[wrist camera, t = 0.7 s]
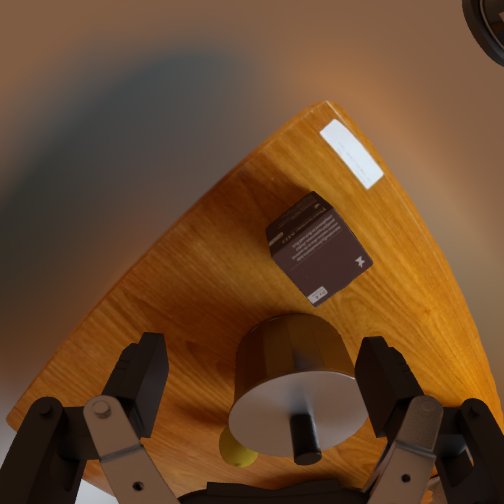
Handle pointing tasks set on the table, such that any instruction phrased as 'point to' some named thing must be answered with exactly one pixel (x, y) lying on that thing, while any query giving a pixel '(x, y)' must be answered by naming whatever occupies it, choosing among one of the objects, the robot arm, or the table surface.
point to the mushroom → (436, 490)
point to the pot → (288, 349)
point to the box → (316, 248)
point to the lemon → (235, 450)
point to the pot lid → (298, 413)
